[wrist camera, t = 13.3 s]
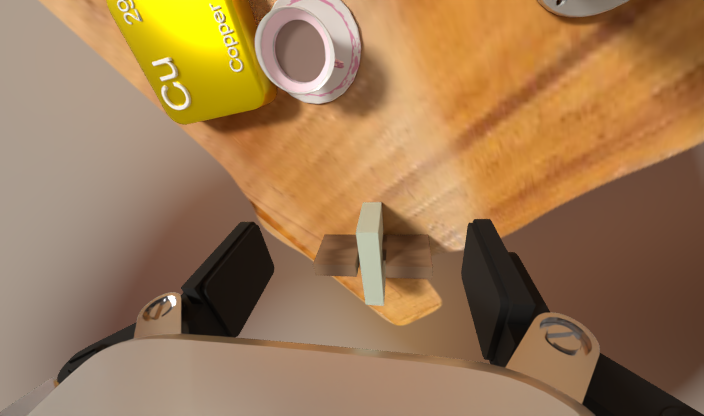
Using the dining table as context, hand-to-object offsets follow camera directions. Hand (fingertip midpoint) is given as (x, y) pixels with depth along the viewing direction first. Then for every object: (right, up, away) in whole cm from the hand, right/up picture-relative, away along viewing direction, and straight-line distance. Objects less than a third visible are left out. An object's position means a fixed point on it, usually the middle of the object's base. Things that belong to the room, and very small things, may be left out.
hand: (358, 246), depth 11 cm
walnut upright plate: (+4, -4, +33) cm, 34 cm away
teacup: (-5, +21, +20) cm, 29 cm away
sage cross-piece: (+4, -4, +33) cm, 34 cm away
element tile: (-19, +22, +22) cm, 36 cm away
